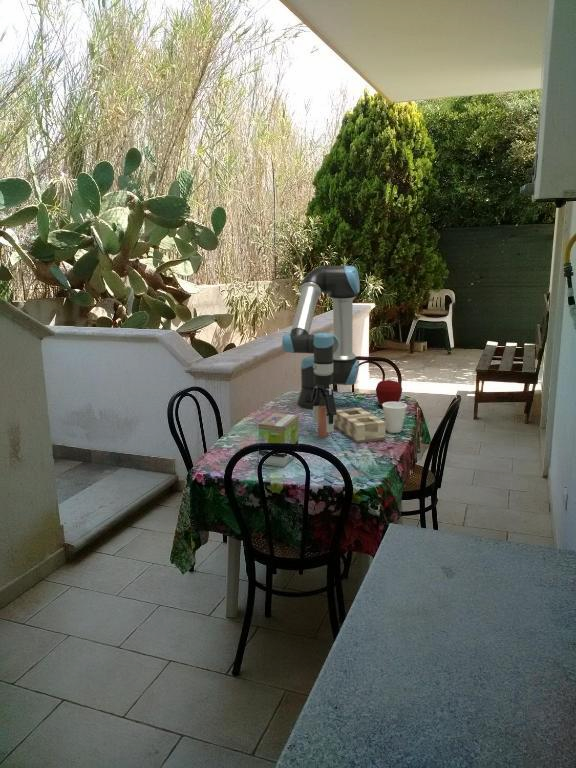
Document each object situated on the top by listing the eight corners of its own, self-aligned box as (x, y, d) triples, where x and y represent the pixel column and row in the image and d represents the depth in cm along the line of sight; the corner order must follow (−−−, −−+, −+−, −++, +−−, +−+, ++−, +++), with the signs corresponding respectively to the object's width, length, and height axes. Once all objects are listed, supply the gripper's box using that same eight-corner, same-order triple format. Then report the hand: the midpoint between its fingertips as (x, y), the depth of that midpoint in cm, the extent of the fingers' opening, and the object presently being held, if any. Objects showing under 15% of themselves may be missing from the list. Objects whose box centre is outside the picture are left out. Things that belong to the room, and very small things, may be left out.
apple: (374, 409, 268) (375, 381, 265) (376, 403, 279) (377, 375, 276) (401, 410, 265) (402, 382, 262) (402, 404, 276) (403, 376, 273)
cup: (378, 433, 234) (379, 406, 232) (384, 426, 243) (385, 400, 241) (403, 436, 231) (404, 409, 228) (408, 428, 240) (409, 402, 237)
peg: (316, 435, 232) (316, 406, 230) (325, 434, 234) (325, 405, 231) (320, 438, 229) (320, 409, 226) (329, 437, 230) (329, 408, 227)
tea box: (285, 467, 199) (285, 426, 196) (258, 464, 202) (257, 423, 199) (299, 453, 213) (298, 414, 210) (273, 450, 216) (272, 411, 213)
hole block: (333, 426, 243) (333, 410, 242) (359, 423, 247) (360, 407, 245) (357, 443, 223) (357, 425, 221) (385, 439, 227) (385, 422, 225)
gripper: (302, 368, 235) (302, 419, 240) (327, 381, 213) (326, 436, 217) (320, 366, 238) (319, 417, 243) (345, 379, 215) (345, 434, 220)
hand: (323, 426), depth 230 cm, fingers open, 13 cm apart
